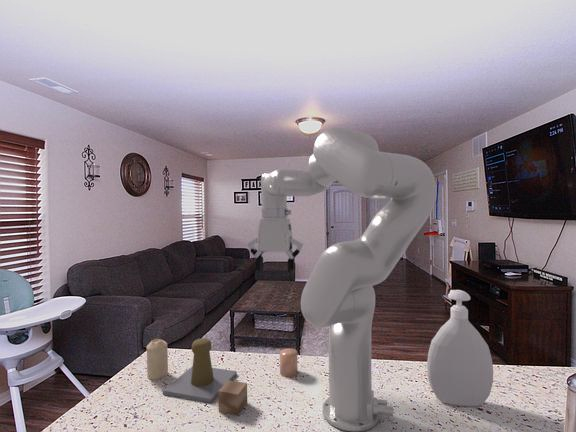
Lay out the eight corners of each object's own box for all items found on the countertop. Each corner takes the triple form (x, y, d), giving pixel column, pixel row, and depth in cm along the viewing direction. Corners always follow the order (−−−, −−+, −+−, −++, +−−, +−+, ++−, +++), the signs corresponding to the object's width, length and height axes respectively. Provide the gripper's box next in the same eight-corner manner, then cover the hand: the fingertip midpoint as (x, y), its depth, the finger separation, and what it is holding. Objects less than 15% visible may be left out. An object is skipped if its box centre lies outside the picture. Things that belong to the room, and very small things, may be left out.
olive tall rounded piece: (207, 387, 84) (207, 345, 84) (186, 385, 86) (185, 344, 85) (217, 375, 90) (216, 336, 90) (197, 373, 92) (196, 335, 91)
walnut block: (247, 403, 79) (247, 383, 79) (238, 416, 74) (237, 394, 74) (229, 400, 81) (228, 380, 81) (218, 412, 76) (218, 391, 76)
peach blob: (299, 369, 95) (299, 349, 95) (294, 378, 90) (294, 357, 90) (283, 367, 96) (282, 347, 96) (277, 376, 92) (277, 355, 92)
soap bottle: (484, 393, 82) (484, 286, 81) (499, 413, 74) (498, 294, 73) (423, 388, 84) (422, 284, 84) (430, 407, 76) (429, 292, 76)
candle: (172, 373, 94) (171, 338, 94) (155, 381, 90) (154, 345, 89) (160, 368, 97) (159, 335, 97) (143, 376, 93) (142, 341, 92)
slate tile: (236, 374, 93) (236, 371, 93) (211, 403, 79) (211, 399, 79) (194, 368, 97) (193, 365, 97) (162, 394, 84) (162, 390, 83)
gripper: (305, 213, 99) (306, 269, 99) (252, 214, 104) (253, 267, 104) (298, 214, 91) (299, 274, 92) (242, 214, 97) (243, 272, 97)
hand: (275, 271), depth 98 cm, fingers open, 9 cm apart
